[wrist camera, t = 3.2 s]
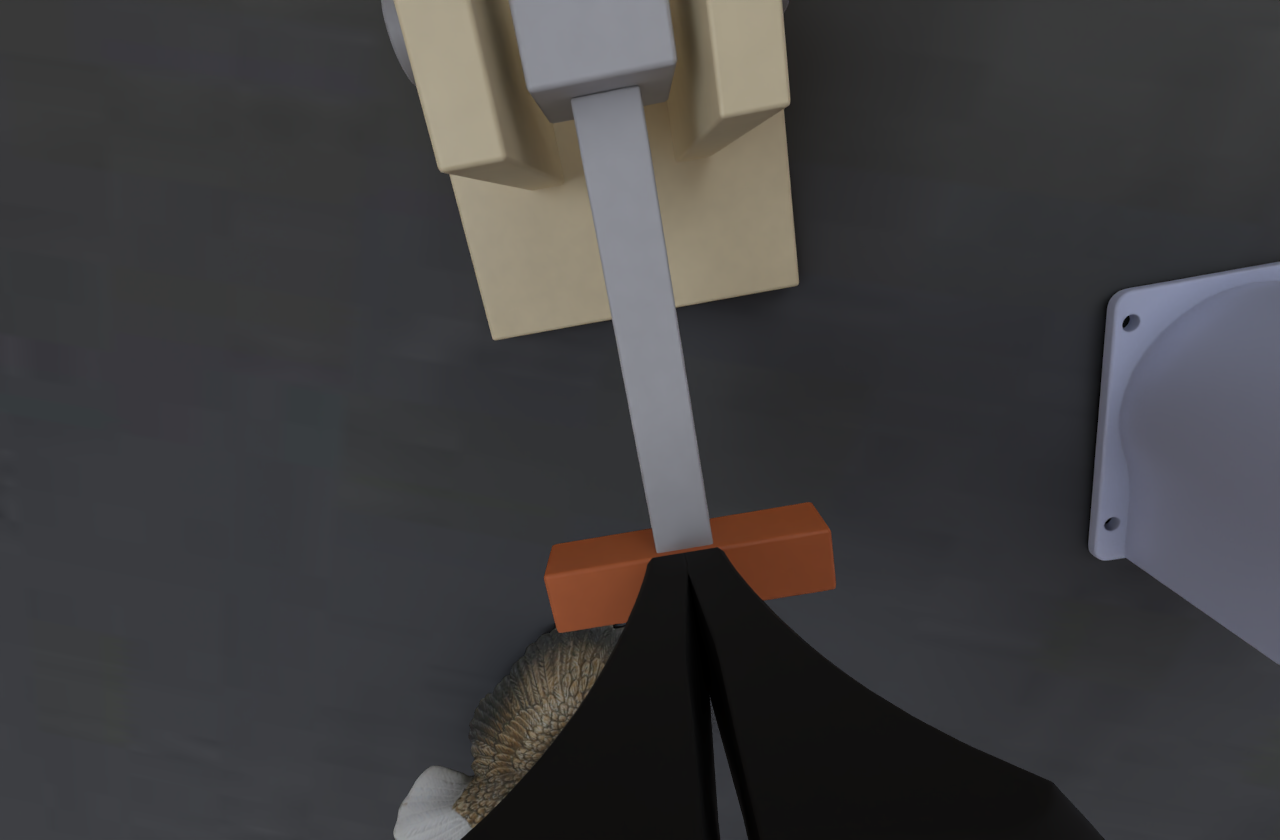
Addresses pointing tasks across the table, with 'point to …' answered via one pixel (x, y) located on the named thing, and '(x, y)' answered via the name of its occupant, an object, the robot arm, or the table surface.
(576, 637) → the eagle figurine
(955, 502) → the table surface
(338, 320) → the table surface
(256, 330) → the table surface
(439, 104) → the beige mounting bracket
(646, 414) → the lever
